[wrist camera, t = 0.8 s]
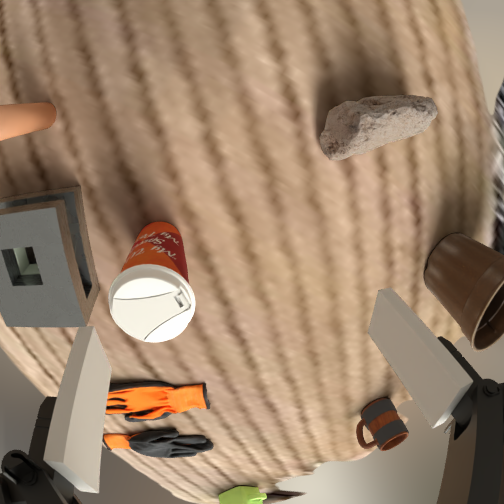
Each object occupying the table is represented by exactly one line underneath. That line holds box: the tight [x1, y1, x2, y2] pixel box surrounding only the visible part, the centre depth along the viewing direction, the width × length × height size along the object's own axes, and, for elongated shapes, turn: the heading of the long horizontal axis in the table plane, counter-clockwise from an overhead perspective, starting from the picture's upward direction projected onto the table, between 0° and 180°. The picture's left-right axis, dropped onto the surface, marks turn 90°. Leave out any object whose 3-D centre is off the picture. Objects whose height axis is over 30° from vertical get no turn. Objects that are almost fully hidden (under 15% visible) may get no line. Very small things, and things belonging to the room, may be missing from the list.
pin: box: [0, 102, 56, 141], centre depth 21 cm, size 3×3×12 cm
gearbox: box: [218, 486, 267, 504], centre depth 73 cm, size 18×10×10 cm, turn 138°
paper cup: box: [108, 222, 195, 342], centre depth 31 cm, size 8×8×14 cm
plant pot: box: [424, 233, 504, 352], centre depth 42 cm, size 16×16×16 cm
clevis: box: [0, 186, 100, 327], centre depth 30 cm, size 14×12×8 cm
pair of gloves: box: [102, 381, 213, 458], centre depth 51 cm, size 27×24×3 cm
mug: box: [356, 398, 409, 451], centre depth 61 cm, size 9×12×12 cm
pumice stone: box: [319, 95, 438, 160], centre depth 31 cm, size 15×8×10 cm, turn 102°
